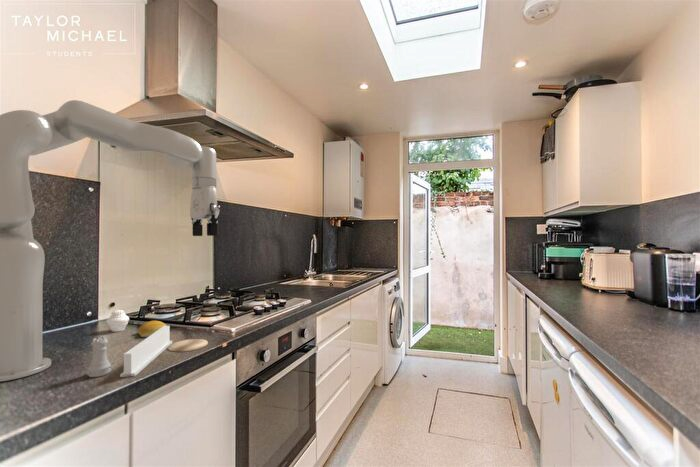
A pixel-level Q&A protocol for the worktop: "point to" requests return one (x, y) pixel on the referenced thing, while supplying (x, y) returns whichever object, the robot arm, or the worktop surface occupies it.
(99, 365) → the rook chess piece
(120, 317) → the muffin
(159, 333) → the divider wall
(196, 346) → the cork coaster
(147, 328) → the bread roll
